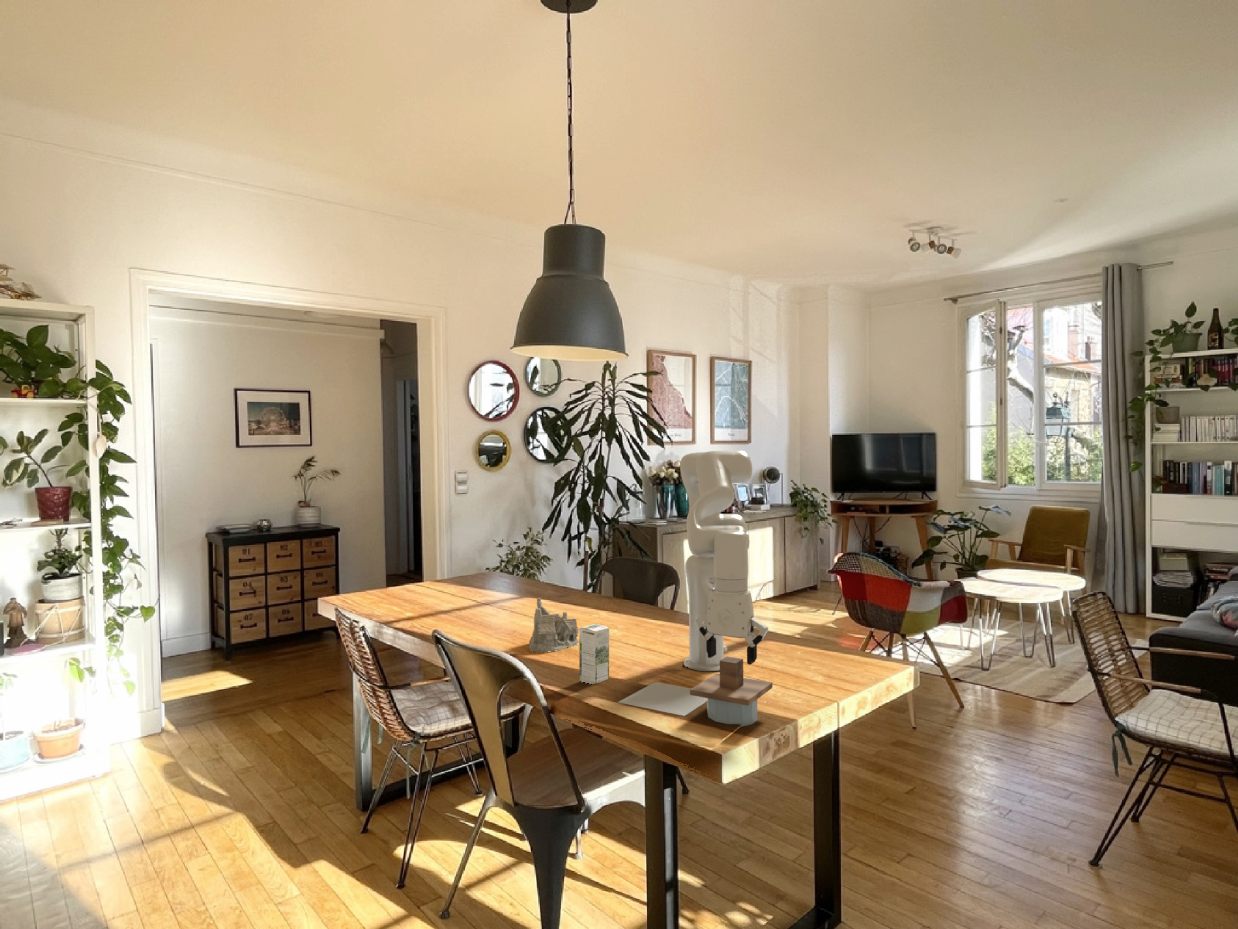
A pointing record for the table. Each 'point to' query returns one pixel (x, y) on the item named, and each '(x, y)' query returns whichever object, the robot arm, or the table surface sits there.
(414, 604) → the table surface
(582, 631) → the syrup box
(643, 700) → the grey mat
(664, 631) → the table surface
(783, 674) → the table surface
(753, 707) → the slate bowl
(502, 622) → the table surface
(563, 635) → the ceramic cottage
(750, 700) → the walnut lid
